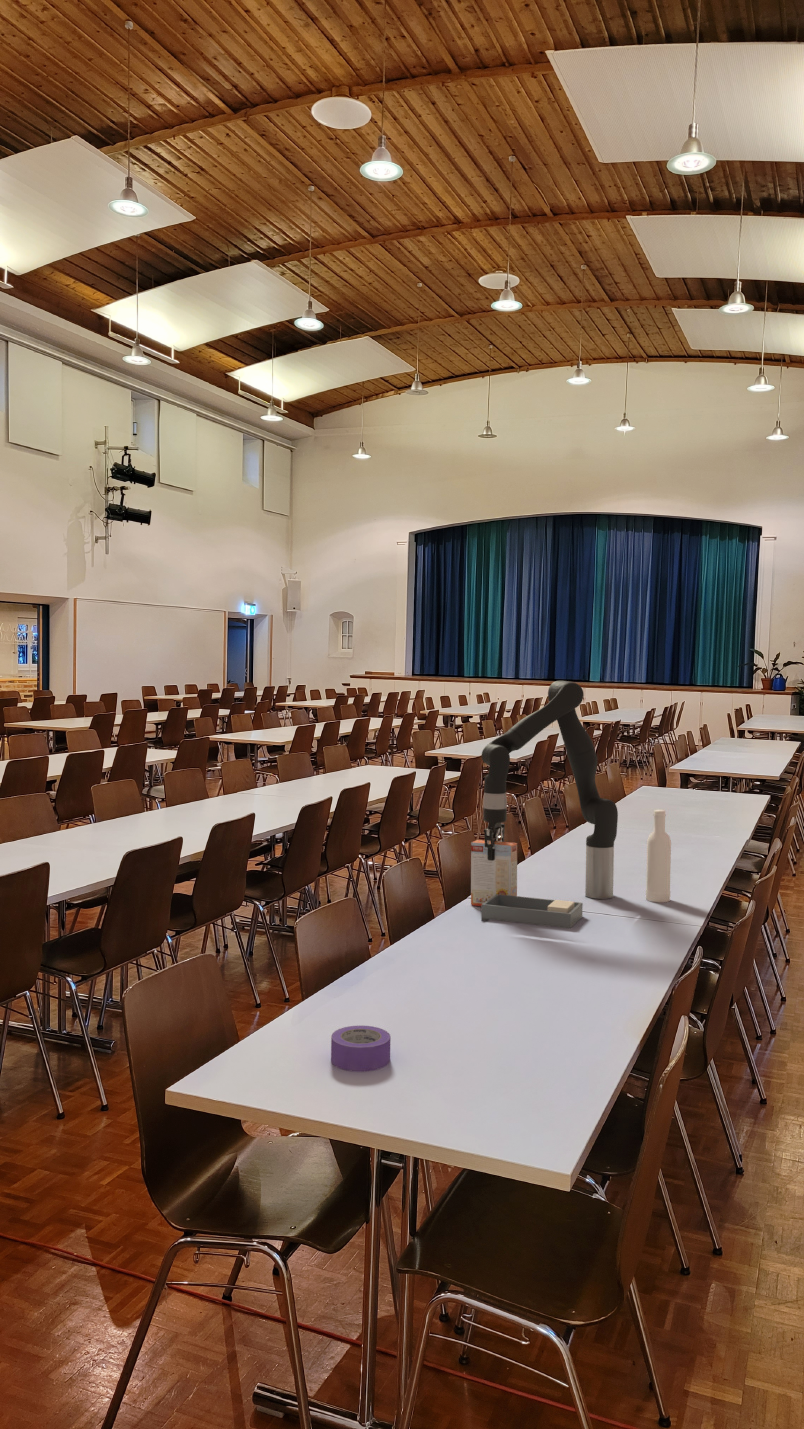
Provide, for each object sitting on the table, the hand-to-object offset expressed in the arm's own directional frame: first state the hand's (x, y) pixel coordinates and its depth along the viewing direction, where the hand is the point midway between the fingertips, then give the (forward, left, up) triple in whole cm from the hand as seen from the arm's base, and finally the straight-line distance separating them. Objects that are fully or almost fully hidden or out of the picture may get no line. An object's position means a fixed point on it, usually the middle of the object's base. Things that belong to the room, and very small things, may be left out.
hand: (494, 858), depth 323 cm
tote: (+11, +16, -16) cm, 25 cm away
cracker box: (0, 0, -16) cm, 16 cm away
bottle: (-31, +47, -16) cm, 59 cm away
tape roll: (+130, +15, -16) cm, 132 cm away
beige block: (+11, +25, -15) cm, 31 cm away
